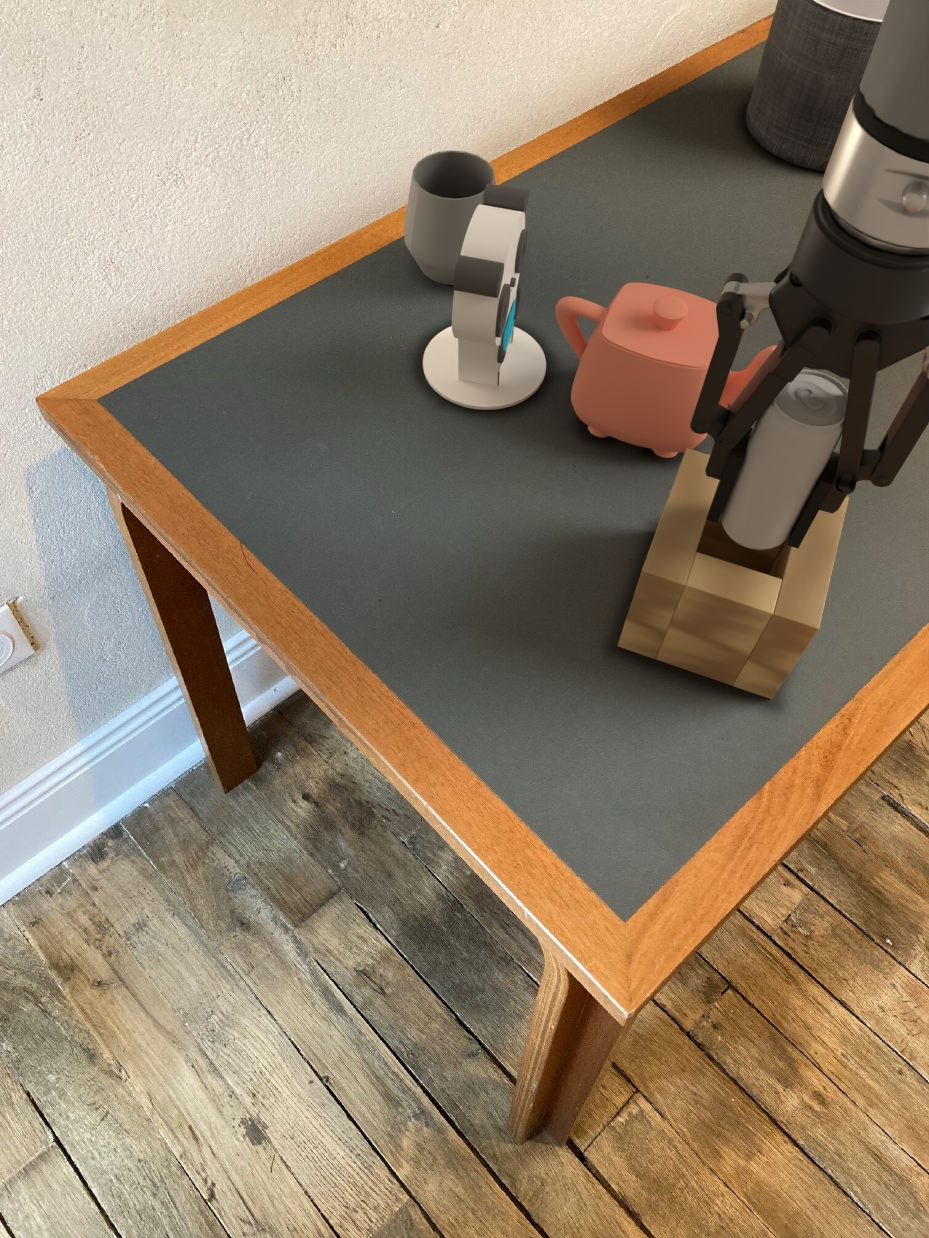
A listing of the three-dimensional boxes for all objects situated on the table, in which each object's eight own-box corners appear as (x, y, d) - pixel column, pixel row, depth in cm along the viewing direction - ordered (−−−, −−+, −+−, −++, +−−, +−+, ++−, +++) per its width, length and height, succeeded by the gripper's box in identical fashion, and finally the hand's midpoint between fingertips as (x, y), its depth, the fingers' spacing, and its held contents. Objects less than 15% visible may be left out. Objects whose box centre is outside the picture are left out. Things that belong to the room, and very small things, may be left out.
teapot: (522, 428, 83) (534, 319, 72) (567, 343, 89) (583, 231, 78) (744, 499, 79) (790, 395, 69) (775, 406, 85) (821, 297, 75)
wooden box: (802, 576, 75) (849, 496, 66) (772, 700, 69) (819, 629, 60) (658, 530, 77) (686, 447, 69) (617, 646, 71) (641, 570, 63)
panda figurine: (530, 425, 83) (547, 284, 70) (406, 401, 84) (401, 257, 71) (556, 335, 89) (576, 190, 76) (440, 313, 90) (441, 167, 78)
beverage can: (749, 565, 62) (810, 440, 52) (702, 516, 64) (752, 386, 54) (803, 535, 64) (873, 408, 53) (756, 487, 66) (814, 356, 55)
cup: (466, 227, 97) (468, 133, 89) (517, 277, 93) (525, 184, 85) (387, 257, 95) (382, 164, 86) (437, 311, 90) (437, 218, 82)
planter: (845, 76, 115) (899, -72, 102) (931, 157, 106) (1002, 7, 93) (717, 101, 111) (755, -49, 98) (795, 187, 103) (849, 35, 89)
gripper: (692, 207, 43) (613, 519, 63) (1098, 310, 40) (881, 605, 60) (729, 122, 47) (643, 442, 67) (1103, 210, 44) (897, 518, 64)
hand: (756, 518), depth 63 cm, fingers closed on beverage can, 5 cm apart
